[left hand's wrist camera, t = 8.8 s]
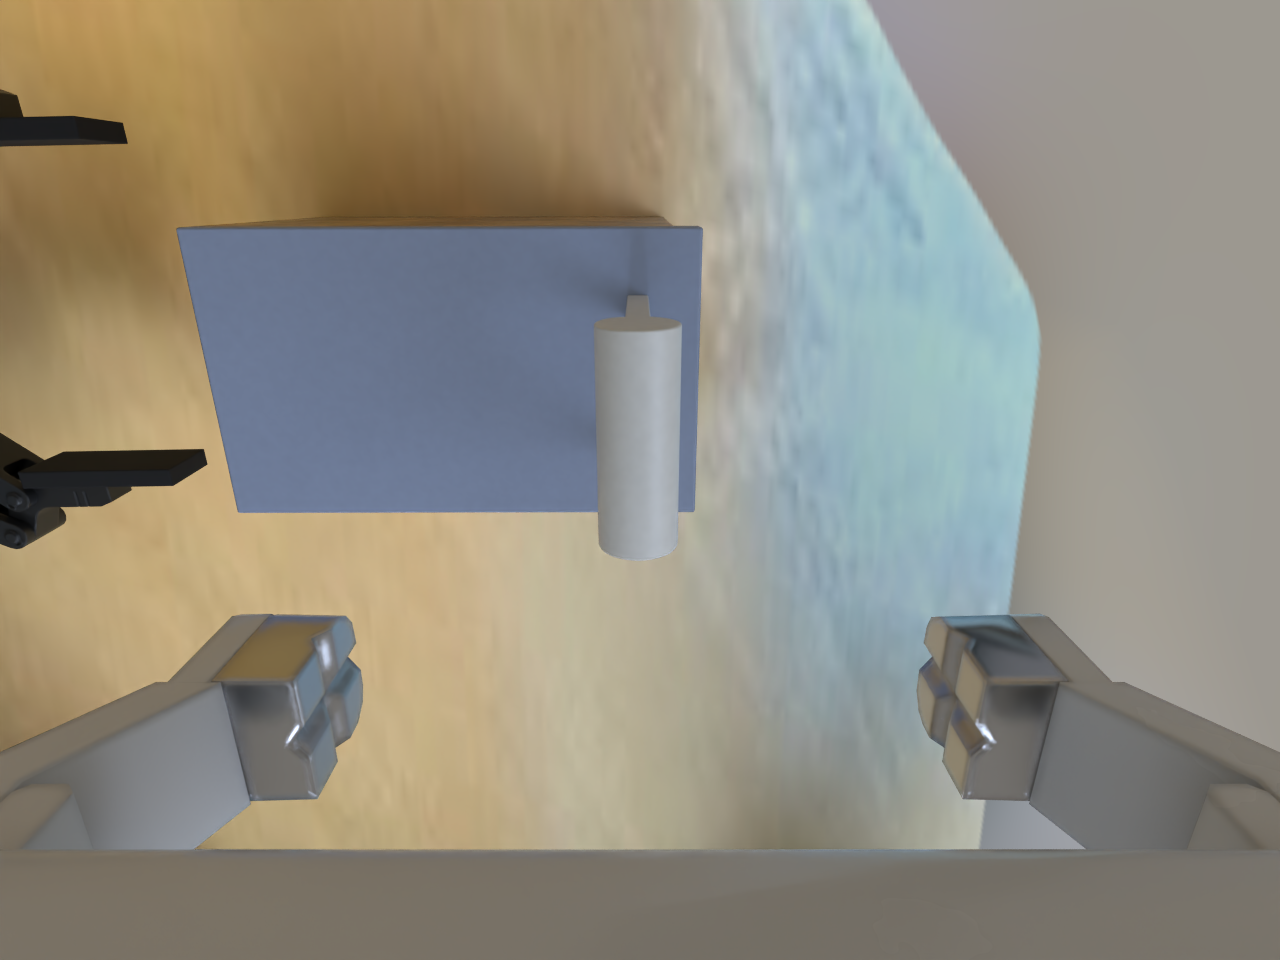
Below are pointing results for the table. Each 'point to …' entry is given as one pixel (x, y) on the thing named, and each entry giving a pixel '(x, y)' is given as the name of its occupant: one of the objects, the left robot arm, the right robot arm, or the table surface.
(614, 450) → the lid
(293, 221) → the chest
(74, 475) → the right robot arm
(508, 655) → the table surface
